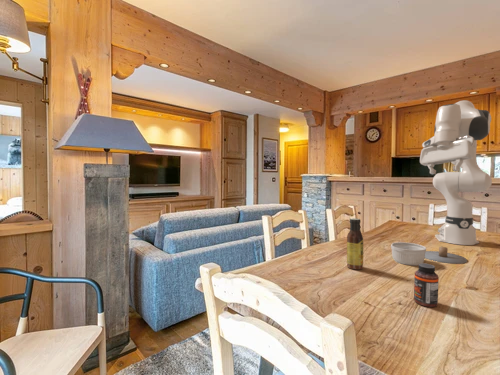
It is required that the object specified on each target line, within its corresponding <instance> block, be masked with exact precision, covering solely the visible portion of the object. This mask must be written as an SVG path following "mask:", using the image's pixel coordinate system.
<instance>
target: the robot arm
mask: <svg viewBox="0 0 500 375" xmlns="http://www.w3.org/2000/svg"><path fill="white" fill-rule="evenodd" d="M491 122H492V116H491V113H490V111H489V110H487V109H486V110H485V109H478V108H476V107H475V105H474V104H473V102H472V101H470V100H459V101H457V102H455V103H450V104H445V105H442V106H439V107H438V109H437V111H436V116H435V123H434V130H433V133H434V136H432V137H430V138H429V139H428V140H426V141H424V142H423V143H422V144H421V146H422V149H421V150H420V157H419V163H420V165H422V166H424V167H428V169H429V174H430V175H434V176H433V178H432V186H433V187H434V188H435V190H437V191H438V192H440V193H441V195H442V196H443V197H444V199H445V202H446V211H447V212H446V215H445V218H444V219H445V221H444V222H445V223H443V224H442V225H441V226H440V227H439V228H437V232H438V233H439V234H438V233H437V234H435V235H434V237H435V238H436V239H437V240H438V241H439V242H444V243H449V244H454V245H462V246H463V245H464V246H474V245H477V244H480V241H479V240H477V232H476V227H475V226H473V225H474V217H473V208H474V207H473V203H472V202H471V200H468V199H467V198H465V197H462V196H461V195H460V193H461V192H462V193H478V192H479V193H482V192H487V191H488V190H489V189H490V188H491V187H492V184H493V183H492V182H493V180H492V177H491V175H489V173H487V172H486V171H484V170H483V169H481V168H480V166H479V164H478V162H477V147H478V145H477V144H478V141H482V140H484V139H485V138H487V137H488V135H489V134H490V131H491ZM446 163H451V164H452V165H453V166H452V171H445V172H438V173H437V170H436V169H434V167H435V165H441V164H446ZM460 169H462V171H460Z"/></svg>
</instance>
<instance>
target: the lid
mask: <svg viewBox="0 0 500 375" xmlns="http://www.w3.org/2000/svg"><path fill="white" fill-rule="evenodd" d="M448 251H449V250H448V247H446V246H438V250H435V251H434V250H426V252H425V258H424V259H427V260H430V261H432V260H433V262H436V261H437V263H443V264H451V265H460V264H461V265H462V264H466V263H467V262H468V259H467V258H466V257H464V256H462V255H460V254H455V253H453V252H452V253H451V252H448Z"/></svg>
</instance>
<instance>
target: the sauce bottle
mask: <svg viewBox="0 0 500 375" xmlns="http://www.w3.org/2000/svg"><path fill="white" fill-rule="evenodd" d="M349 224H350V225H349V231H348V233H347V235H346V239H347V240H346V241H347V242H346V263H347V268H348V269H351V270H362V269H363V268H364V267H363V266H364V236H363V234H362V231H361V219H360V218H349Z"/></svg>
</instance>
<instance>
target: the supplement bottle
mask: <svg viewBox="0 0 500 375" xmlns="http://www.w3.org/2000/svg"><path fill="white" fill-rule="evenodd" d="M435 271H436V267H435V265H433V264H429V263H425V262H423V263H421V264H419V265H418V269H417V270H415V272H414V280H413V281H414V282H413V283H414V285H413V301H414V302H415V303H416V304H418V305H419V306H422V307H427V308H434V307H437V306H438V302H439V279H440V278H439V275H438V274H437V273H436V272H435Z"/></svg>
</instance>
